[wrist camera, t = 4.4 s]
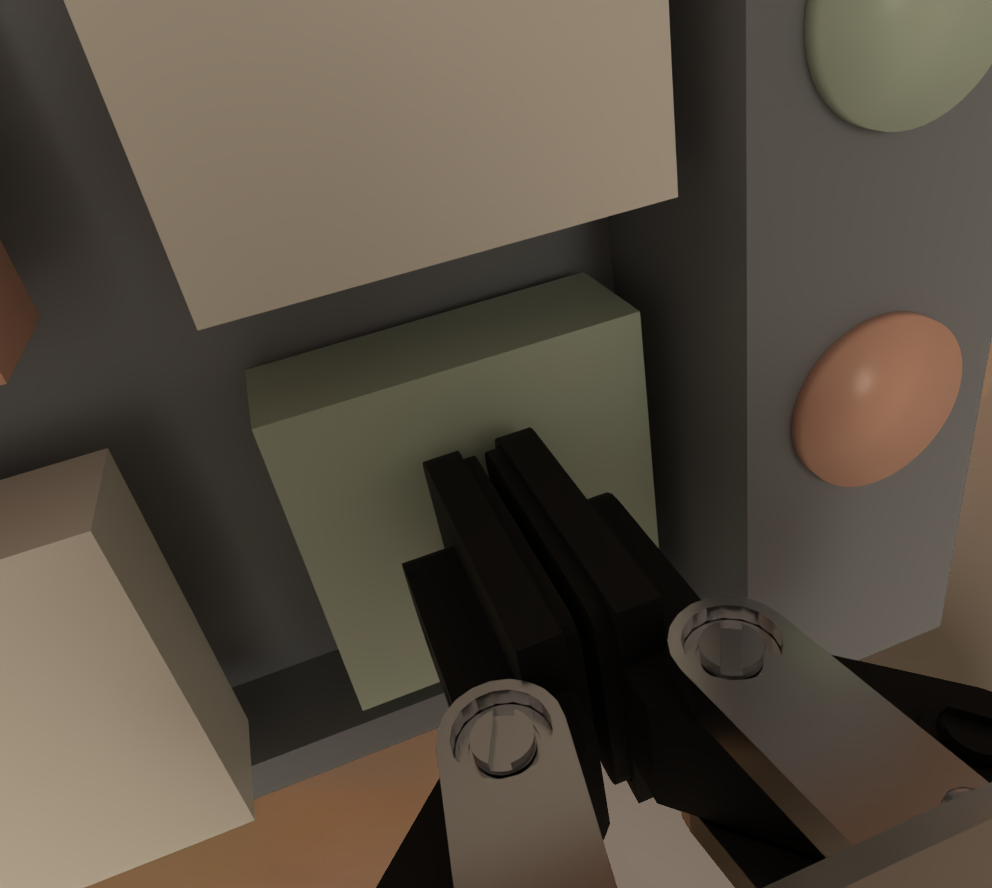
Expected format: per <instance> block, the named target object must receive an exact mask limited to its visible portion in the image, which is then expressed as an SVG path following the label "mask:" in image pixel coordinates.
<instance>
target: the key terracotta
mask: <svg viewBox="0 0 992 888" xmlns="http://www.w3.org/2000/svg"><path fill="white" fill-rule="evenodd" d="M39 319H40V316H39V314H38V312H37V310H36V308H35V306H34V304H33V302H32V300H31V298H30V296H29V295H28V293H27V291H26V289H25V287H24V285H23V283H22V281H21V279H20V277H19V275H18V273H17V271H16V269H15V267H14V265H13V264H12V262H11V260H10V258H9V256H8V254H7V252H6V250H5V248H4V246H3V244H2V242H1V240H0V385H4V384H7V382H8V380H9V378H10V377H11V375H12V373H13V371H14V369H15V367H16V365H17V363H18V361H19V359H20V357H21V355H22V353H23V351H24V349H25V347H26V345H27V343H28V341H29V339H30V337H31V335H32V333H33V331H34V329H35V327H36V325H37V323H38V321H39Z"/></svg>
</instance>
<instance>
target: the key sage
mask: <svg viewBox="0 0 992 888" xmlns="http://www.w3.org/2000/svg"><path fill="white" fill-rule="evenodd" d="M245 378H246V387H247V395H248V403H249V411H250V420H251V428H252V432H253V434H254V437H255V439H256V442H257V444H258V447H259V449H260V452H261V454H262V457H263V459H264V462H265V464H266V467H267V470H268V472H269V475H270V477H271V480H272V482H273V485H274V487H275V490H276V492H277V495H278V497H279V500H280V502H281V505H282V508H283V510H284V513H285V515H286V518H287V520H288V523H289V525H290V528H291V530H292V533H293V535H294V538H295V540H296V543H297V546H298V548H299V551H300V553H301V556H302V558H303V561H304V563H305V566H306V568H307V571H308V573H309V576H310V578H311V581H312V583H313V586H314V589H315V591H316V594H317V596H318V599H319V601H320V604H321V606H322V609H323V611H324V614H325V616H326V619H327V621H328V624H329V627H330V629H331V632H332V634H333V637H334V639H335V642H336V644H337V647H338V649H339V652H340V654H341V657H342V659H343V662H344V665H345V667H346V670H347V672H348V675H349V677H350V680H351V682H352V685H353V687H354V690H355V692H356V695H357V697H358V700H359V703H360V705H361V708H362V710H363V711H364V710H367V709H369V708H372V707H375V706H377V705H380V704H383V703H385V702H388V701H390V700H393V699H396V698H398V697H401V696H404V695H406V694H409V693H412V692H414V691H417V690H420V689H422V688H425V687H428V686H430V685H433V684H435V683H438V682H440V680H439V678H438V675H437V672H436V669H435V666H434V663H433V661H432V658H431V655H430V652H429V649H428V646H427V643H426V640H425V637H424V634H423V631H422V628H421V625H420V622H419V619H418V616H417V613H416V610H415V607H414V603H413V600H412V597H411V594H410V591H409V587H408V584H407V581H406V578H405V574H404V571H403V567H402V563H404V562H407V561H410V560H413V559H416V558H419V557H422V556H425V555H427V554H430V553H433V552H436V551H439V550H442V549H445V548H444V545H443V541H442V537H441V533H440V530H439V526H438V522H437V518H436V515H435V511H434V507H433V503H432V500H431V496H430V492H429V488H428V485H427V481H426V477H425V473H424V469H423V462H424V461H427V460H430V459H433V458H436V457H439V456H443V455H446V454H449V453H452V452H455V451H459V452H460V454H461V455H462V457H463V459H465V458H468V457H471V456H476V457H477V459H478V460H479V462H480V464H481V465H482V467H483V469H484V470H485V472H486V474H487V475H488V470H487V465H486V461H485V452H486V451H489V450H492V449H495V439H496V438H498V437H501V436H504V435H507V434H510V433H513V432H516V431H520V430H523V429H526V428H529V427H530V428H532V429H533V430H534V431H535V432H536V433H537V435H538V436H539V437H540V439H541V440H542V441H543V442H544V444H545V445H546V446H547V448H548V449H549V450H550V452H551V453H552V454H553V455H554V457H555V458H556V459H557V461H558V462H559V463H560V465H561V466H562V467H563V468H564V470H565V471H566V472H567V474H568V475H569V476H570V478H571V479H572V480H573V481H574V483H575V484H576V485H577V487H578V488H579V489H580V491H581V492H582V493H583V494H584V496H585V497H586V498H587V499H589V498H592V497H595V496H597V495H600V494H603V493H606V492H608V493H612V494H613V495H614V496H615V497H616V498H617V499H618V500H619V501H620V502H621V504H622V505H623V506H624V507H625V509H626V510H627V511H628V512H629V513H630V515H631V516H632V517H633V518H634V519H635V521H636V522H637V523H638V524H639V525H640V527H641V528H642V529H643V530H644V531H645V533H646V534H647V535H648V536H649V537H650V539H651V540H652V541H653V542H654V543H655V545H656V546H657V547H658V548H659V543H658V530H657V518H656V506H655V493H654V481H653V468H652V456H651V443H650V431H649V418H648V406H647V393H646V381H645V369H644V356H643V344H642V331H641V319H640V311H639V310H637V309H636V308H634V307H633V306H632V305H630V304H629V303H627V302H626V301H624V300H623V299H622V298H620V297H619V296H617V295H616V294H614V293H613V292H612V291H610V290H609V289H607V288H606V287H604V286H603V285H602V284H600V283H599V282H597V281H596V280H595V279H593V278H592V277H590V276H589V275H587V274H586V273H585V272H581V273H578V274H575V275H571V276H568V277H564V278H561V279H557V280H554V281H550V282H547V283H544V284H540V285H537V286H533V287H530V288H526V289H523V290H519V291H516V292H512V293H509V294H506V295H502V296H499V297H495V298H492V299H488V300H485V301H481V302H478V303H475V304H471V305H468V306H464V307H461V308H457V309H454V310H450V311H447V312H444V313H440V314H437V315H433V316H430V317H426V318H423V319H419V320H416V321H413V322H409V323H406V324H402V325H399V326H395V327H392V328H388V329H385V330H382V331H378V332H375V333H371V334H368V335H364V336H361V337H357V338H354V339H350V340H347V341H344V342H340V343H337V344H333V345H330V346H326V347H323V348H319V349H316V350H313V351H309V352H306V353H302V354H299V355H295V356H292V357H288V358H285V359H282V360H278V361H275V362H271V363H268V364H264V365H261V366H257V367H254V368H251V369H247V370H245ZM488 477H489V475H488Z"/></svg>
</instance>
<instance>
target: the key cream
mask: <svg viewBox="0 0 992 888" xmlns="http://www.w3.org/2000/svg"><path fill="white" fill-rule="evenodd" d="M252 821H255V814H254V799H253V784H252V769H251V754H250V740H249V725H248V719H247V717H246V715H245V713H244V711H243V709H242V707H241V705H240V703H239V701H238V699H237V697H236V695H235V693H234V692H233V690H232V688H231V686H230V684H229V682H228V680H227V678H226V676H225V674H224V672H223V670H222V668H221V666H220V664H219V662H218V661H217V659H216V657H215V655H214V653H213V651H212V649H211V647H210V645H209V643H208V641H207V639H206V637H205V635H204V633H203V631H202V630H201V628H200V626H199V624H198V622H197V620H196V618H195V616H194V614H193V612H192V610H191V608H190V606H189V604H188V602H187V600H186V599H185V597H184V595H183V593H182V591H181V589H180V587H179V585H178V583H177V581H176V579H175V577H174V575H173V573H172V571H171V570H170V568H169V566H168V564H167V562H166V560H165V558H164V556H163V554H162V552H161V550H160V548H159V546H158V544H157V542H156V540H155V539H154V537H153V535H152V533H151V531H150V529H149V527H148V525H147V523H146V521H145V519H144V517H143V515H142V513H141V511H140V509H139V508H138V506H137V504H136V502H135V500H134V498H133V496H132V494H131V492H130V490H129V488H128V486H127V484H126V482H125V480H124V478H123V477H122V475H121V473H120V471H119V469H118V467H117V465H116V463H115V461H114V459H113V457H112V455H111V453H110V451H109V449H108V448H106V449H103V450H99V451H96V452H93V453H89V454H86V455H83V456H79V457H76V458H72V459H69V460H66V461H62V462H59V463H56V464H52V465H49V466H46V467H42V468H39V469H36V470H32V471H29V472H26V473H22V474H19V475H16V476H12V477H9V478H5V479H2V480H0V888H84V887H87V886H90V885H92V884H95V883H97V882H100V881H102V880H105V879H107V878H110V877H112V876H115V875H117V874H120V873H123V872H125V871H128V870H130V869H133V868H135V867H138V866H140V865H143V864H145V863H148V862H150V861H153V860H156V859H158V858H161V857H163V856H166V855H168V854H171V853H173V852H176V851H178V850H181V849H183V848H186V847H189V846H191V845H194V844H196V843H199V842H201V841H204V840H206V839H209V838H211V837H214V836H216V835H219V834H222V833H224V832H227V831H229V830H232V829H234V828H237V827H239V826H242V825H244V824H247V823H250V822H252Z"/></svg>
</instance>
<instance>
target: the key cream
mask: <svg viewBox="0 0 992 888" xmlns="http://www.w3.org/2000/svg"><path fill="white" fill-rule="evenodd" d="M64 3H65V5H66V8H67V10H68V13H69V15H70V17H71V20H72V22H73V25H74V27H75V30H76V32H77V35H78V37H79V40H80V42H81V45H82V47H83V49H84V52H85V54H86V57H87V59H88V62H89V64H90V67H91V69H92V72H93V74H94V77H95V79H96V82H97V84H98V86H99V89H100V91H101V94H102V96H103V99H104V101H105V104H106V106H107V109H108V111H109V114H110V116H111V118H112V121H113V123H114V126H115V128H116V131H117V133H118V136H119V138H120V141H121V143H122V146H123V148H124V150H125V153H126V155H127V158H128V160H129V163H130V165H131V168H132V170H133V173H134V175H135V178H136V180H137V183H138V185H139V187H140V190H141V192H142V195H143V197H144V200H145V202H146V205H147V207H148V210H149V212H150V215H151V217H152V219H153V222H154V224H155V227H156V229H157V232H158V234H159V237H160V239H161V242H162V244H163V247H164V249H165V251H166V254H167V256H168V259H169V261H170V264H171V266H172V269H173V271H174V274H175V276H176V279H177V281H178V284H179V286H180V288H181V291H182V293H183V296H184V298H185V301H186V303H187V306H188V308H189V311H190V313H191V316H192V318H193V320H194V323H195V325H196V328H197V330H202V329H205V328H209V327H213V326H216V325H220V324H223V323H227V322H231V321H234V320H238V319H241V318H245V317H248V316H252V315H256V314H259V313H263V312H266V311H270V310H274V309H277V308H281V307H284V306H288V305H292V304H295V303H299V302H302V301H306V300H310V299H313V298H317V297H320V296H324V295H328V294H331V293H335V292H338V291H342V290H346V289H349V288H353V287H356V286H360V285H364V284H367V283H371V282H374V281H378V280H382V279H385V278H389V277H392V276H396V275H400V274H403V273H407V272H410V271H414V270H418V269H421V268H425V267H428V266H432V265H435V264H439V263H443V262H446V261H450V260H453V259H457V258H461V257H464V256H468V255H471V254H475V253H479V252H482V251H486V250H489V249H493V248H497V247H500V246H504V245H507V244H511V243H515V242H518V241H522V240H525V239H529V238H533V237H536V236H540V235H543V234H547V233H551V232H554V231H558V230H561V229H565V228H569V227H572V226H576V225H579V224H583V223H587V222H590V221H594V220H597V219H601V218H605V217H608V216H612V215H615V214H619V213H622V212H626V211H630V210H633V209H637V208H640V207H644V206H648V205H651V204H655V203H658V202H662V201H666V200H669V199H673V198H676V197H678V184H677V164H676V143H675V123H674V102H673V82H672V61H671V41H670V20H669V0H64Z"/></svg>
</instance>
